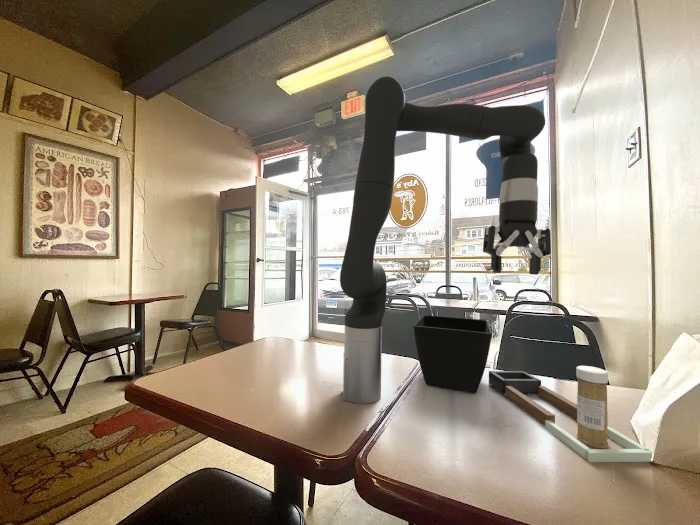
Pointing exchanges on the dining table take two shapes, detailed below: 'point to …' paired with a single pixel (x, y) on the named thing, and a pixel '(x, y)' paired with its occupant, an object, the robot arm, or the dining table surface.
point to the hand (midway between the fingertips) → (515, 273)
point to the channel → (538, 410)
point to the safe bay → (630, 454)
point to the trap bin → (514, 381)
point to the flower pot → (452, 351)
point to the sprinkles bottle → (592, 406)
